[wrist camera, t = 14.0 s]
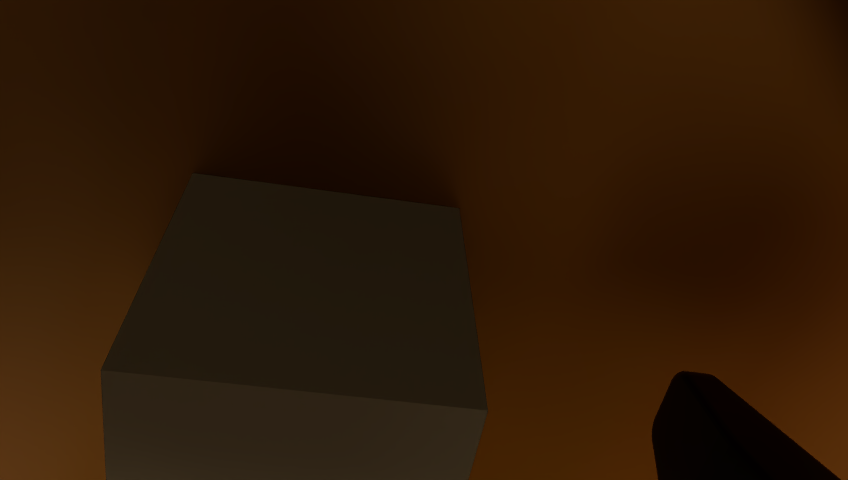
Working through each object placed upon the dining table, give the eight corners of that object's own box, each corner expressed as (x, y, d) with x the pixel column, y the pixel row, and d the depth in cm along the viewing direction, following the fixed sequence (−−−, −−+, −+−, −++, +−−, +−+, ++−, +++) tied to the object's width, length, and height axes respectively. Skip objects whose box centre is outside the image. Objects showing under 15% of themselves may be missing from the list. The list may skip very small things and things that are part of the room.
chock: (407, 436, 15) (413, 676, 11) (188, 415, 15) (115, 656, 11) (459, 204, 12) (487, 410, 9) (194, 169, 12) (100, 369, 8)
